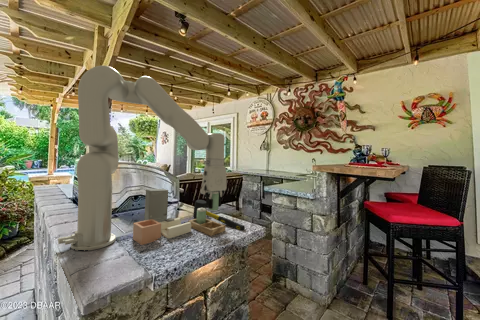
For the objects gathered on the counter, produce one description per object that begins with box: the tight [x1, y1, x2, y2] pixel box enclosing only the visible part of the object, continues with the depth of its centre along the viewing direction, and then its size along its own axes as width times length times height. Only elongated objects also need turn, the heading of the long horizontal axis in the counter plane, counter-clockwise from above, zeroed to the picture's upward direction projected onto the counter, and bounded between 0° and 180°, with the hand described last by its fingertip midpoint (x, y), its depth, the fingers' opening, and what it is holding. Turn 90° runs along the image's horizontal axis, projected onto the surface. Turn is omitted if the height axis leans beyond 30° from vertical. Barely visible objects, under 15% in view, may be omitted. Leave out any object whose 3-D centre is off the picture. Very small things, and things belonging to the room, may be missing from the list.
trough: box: [187, 218, 227, 237], centre depth 87 cm, size 8×15×3 cm, turn 50°
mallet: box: [192, 199, 246, 232], centre depth 94 cm, size 29×6×10 cm, turn 57°
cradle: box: [159, 217, 192, 239], centre depth 81 cm, size 10×9×5 cm
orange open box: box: [132, 219, 162, 246], centre depth 75 cm, size 7×7×6 cm
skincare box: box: [143, 188, 169, 222], centre depth 91 cm, size 8×7×16 cm
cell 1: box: [196, 208, 207, 224], centre depth 89 cm, size 4×4×8 cm
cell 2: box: [208, 191, 219, 211], centre depth 84 cm, size 4×4×8 cm
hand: (213, 206), depth 84 cm, fingers closed on cell 2, 4 cm apart
